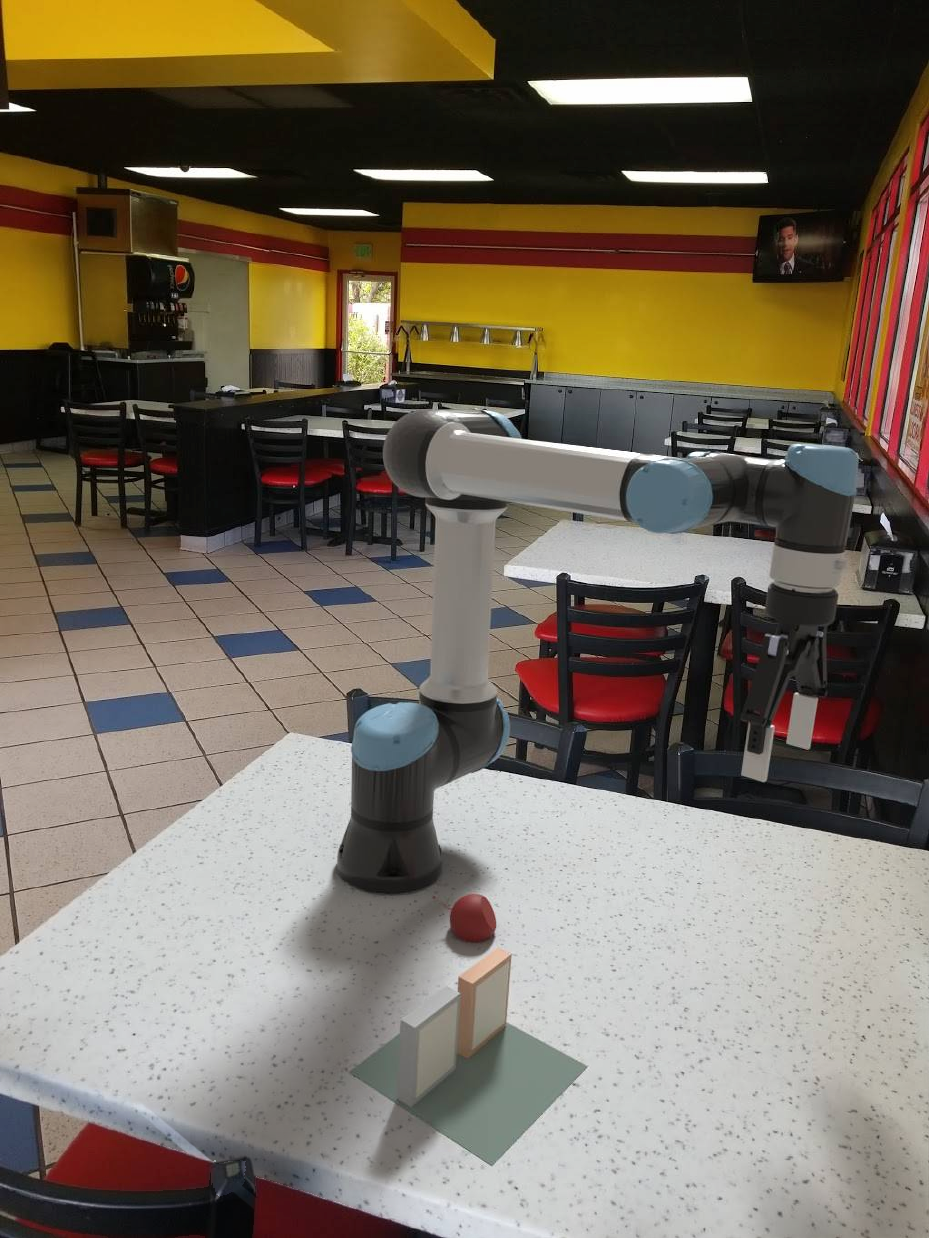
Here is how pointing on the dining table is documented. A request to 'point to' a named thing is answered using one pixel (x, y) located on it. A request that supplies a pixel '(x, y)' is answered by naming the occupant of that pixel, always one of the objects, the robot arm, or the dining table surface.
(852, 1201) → the dining table surface
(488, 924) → the fruit
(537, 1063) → the mat
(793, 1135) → the dining table surface
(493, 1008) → the terracotta tile
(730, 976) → the dining table surface
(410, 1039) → the white flat block
